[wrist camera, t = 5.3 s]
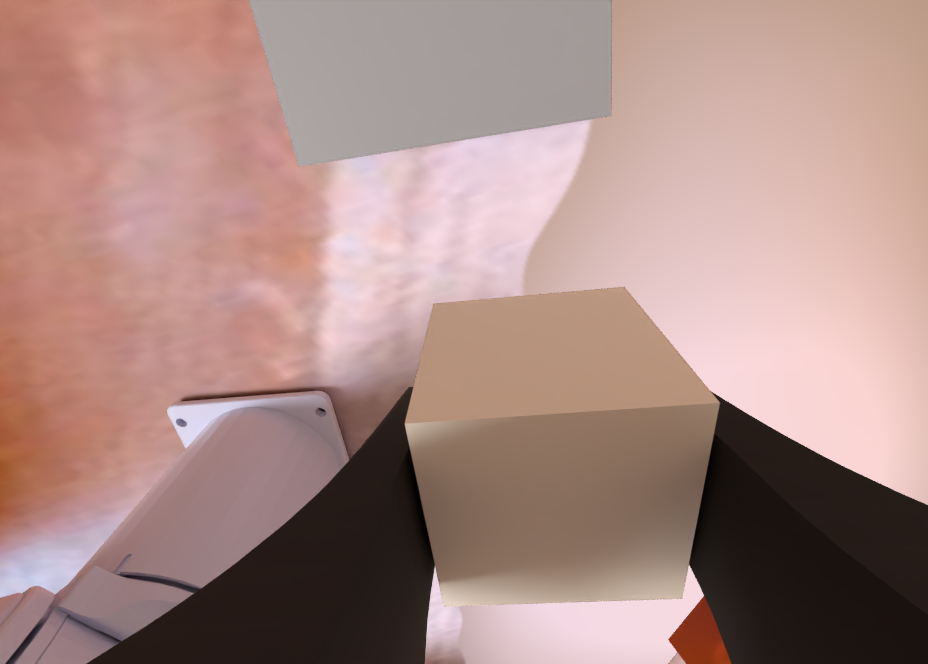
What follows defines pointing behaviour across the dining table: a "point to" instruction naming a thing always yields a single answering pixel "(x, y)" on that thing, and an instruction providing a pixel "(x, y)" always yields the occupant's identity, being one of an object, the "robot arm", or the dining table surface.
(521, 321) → the cream cube
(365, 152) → the slate block
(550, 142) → the dining table surface
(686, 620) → the potion bottle
